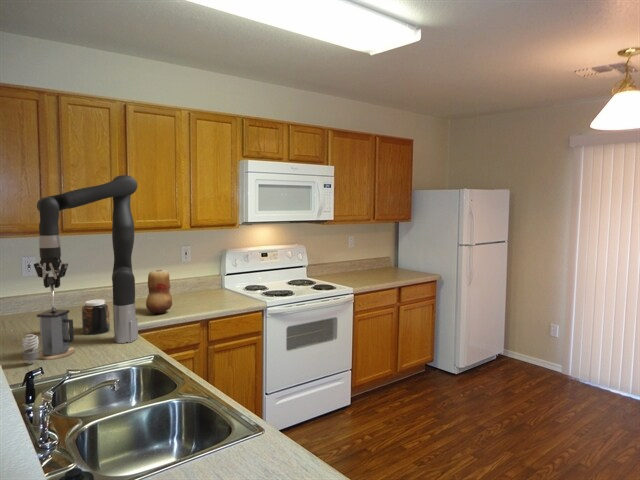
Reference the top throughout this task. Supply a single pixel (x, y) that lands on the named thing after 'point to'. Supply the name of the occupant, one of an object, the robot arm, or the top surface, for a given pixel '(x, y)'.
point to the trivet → (42, 357)
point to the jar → (95, 317)
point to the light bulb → (30, 353)
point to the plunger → (51, 282)
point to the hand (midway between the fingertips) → (52, 287)
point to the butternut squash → (158, 291)
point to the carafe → (55, 332)
